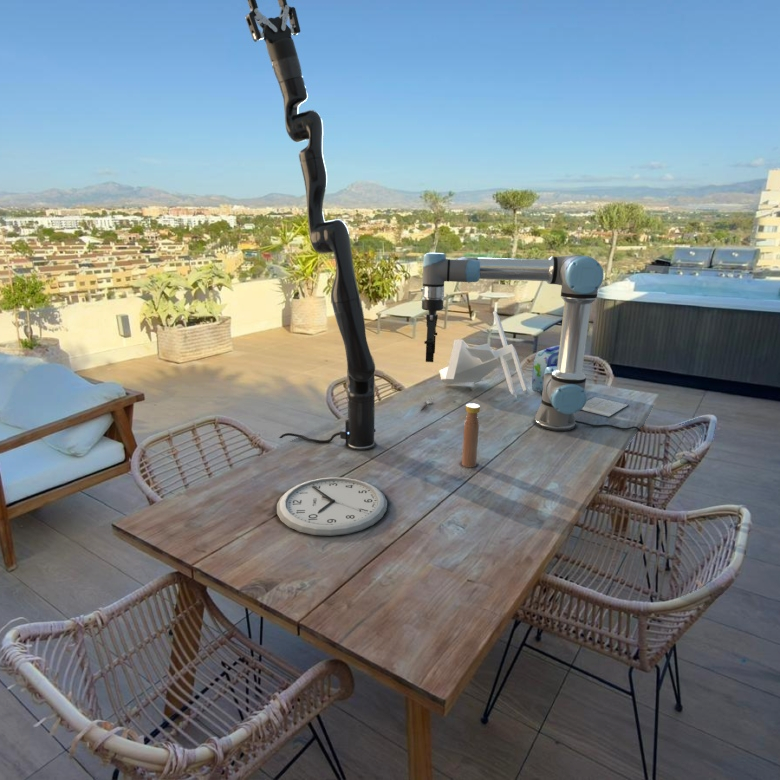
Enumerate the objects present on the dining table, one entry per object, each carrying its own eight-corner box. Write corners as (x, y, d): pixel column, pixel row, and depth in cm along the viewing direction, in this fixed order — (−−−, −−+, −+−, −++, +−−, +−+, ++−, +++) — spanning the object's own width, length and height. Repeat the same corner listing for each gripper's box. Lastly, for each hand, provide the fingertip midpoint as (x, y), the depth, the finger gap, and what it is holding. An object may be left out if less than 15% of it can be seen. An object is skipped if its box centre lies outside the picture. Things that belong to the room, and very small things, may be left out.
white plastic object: (461, 429, 252) (437, 405, 227) (444, 352, 274) (420, 323, 250) (535, 404, 240) (518, 377, 215) (510, 326, 262) (492, 293, 237)
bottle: (467, 468, 166) (471, 410, 160) (458, 462, 170) (462, 405, 164) (478, 465, 168) (483, 407, 162) (470, 460, 172) (474, 403, 166)
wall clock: (392, 527, 129) (268, 531, 127) (391, 533, 130) (269, 537, 127) (383, 473, 158) (282, 475, 155) (383, 478, 158) (282, 480, 156)
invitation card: (608, 416, 214) (573, 407, 224) (608, 416, 214) (573, 408, 224) (628, 404, 229) (594, 396, 238) (628, 405, 229) (594, 397, 238)
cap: (471, 414, 161) (471, 408, 160) (462, 410, 164) (463, 404, 164) (482, 412, 163) (482, 406, 162) (473, 408, 166) (474, 402, 166)
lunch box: (548, 398, 236) (553, 353, 229) (527, 393, 243) (531, 349, 237) (575, 387, 253) (581, 344, 247) (555, 382, 260) (560, 341, 254)
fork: (417, 411, 216) (418, 406, 216) (428, 400, 231) (428, 395, 230) (423, 412, 215) (424, 407, 215) (434, 400, 230) (434, 396, 229)
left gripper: (313, 53, 144) (293, -17, 137) (269, 62, 138) (246, -12, 130) (299, 61, 150) (280, -7, 143) (256, 69, 143) (234, -2, 136)
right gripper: (424, 293, 195) (422, 349, 202) (419, 302, 172) (417, 365, 178) (444, 294, 195) (441, 350, 201) (442, 303, 171) (439, 366, 177)
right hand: (430, 357), depth 190 cm, fingers open, 13 cm apart
